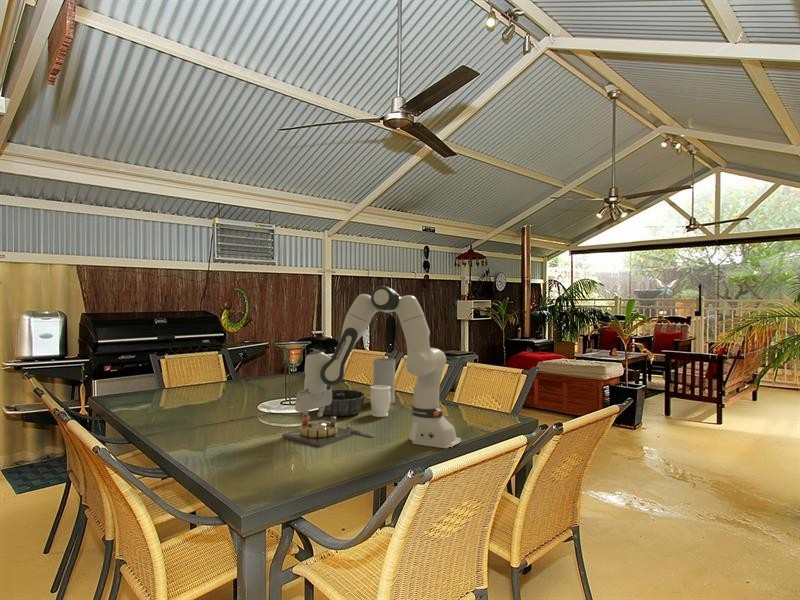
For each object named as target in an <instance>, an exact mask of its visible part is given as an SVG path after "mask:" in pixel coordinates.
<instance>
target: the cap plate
mask: <svg viewBox="0 0 800 600" xmlns="http://www.w3.org/2000/svg"><path fill="white" fill-rule="evenodd" d="M326 427H327V423H326V422H313V423H311V428H326ZM281 435H282V438H283V439H285V440H290V441H293V442H297V443H302V444H306V445H311V446H313V447H318V448H322V447H325V446H328V445H330V444H333V443H337V442H338V440H339V441H341V440H344V439H346V437H347V438H349V437H351V435H352V436H354V435H355V434H354V431H351V430H346V428H340V427H338V432H337V433H336V434H335V435H332V436H327V437H319V438H318V437H317V438H315V437H306V436H303V435H301V434H300V428H299V429H295V430H292V431H289V432H285V433H283V434H281ZM343 438H344V439H343Z"/></svg>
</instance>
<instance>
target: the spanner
mask: <svg viewBox="0 0 800 600" xmlns="http://www.w3.org/2000/svg"><path fill="white" fill-rule="evenodd" d="M346 427H347V428H345V429H346V430H351V431H354V433H356V435H359V434H360V436H364V437H368V436H369V438H375V437H376V433H373V432H369V431H364V430H359V429H355V428H352V427H350V424H347V425H346Z"/></svg>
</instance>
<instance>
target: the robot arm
mask: <svg viewBox="0 0 800 600" xmlns="http://www.w3.org/2000/svg"><path fill="white" fill-rule="evenodd" d="M376 313H385V314H393V313H396V315H397V317H398V319H399V323H400V325H401V329H402V332H403V335H404V338H405V343H406V344H405V345H406V350H407V351H406V353H407V356H406V360H405V368H406V369H407V372H408V373H409V374H410V375H412V376H415V377H417V378H416V379H417V380H416V382H415V385H414V387H413V401H412V403H413V404H412V410H411V411H412V412H411V415H412V417H411V418H412V424H411V429H410V434H409V437H408V439H409V440H410V441H411V442H412V444H413V445H418V446H419V445H420V446H425V447H434V448H440V449H450V448H449V447H451V448H454V447H453V446H455V445H457V444H459V443H460V442H461V443H462V439H461V437H457V433H456V429H455V426H454V425H453V424H451V422H450V421H449V420H447V419H446V418H445V417H444V416H443V413H444V412H445V409H444V408H443V409H441V407H440V386H441V380H442V377H443V371H444V367H445V365H446V364H447V356H446V354H445V352H444V351H443V350H441V349H438V348H437V347H436V348H435V347H431V346H430V335H431V330H430V327H429V326H428V322H427V319H426V316H425V313H424V311H423V308H422V307H421V305H420V303H419V301H418V299H417V297H416V296H414V295H412V294H408V295H403V296H401V295H400V294H399V293H398V292H397V291H396V290H395V289H393V288H392V287H389V286H387V285H380V286H378V287H376V288H375V289H373V291H372V293H371V295H370V294H367V293H361V294H359V295H358V296H357V297H356V298H355V299H354V300H353V302H352V304H351V306H350V307H349V309H348V310H347V313H346V316H345V318H344V321H343V326H342V330H341V335H340V338H339V341H338V344H337V346H336V348H335V350H334V352H333V354H332V356H330V355H328V354H326V353H325V352H324V351H322V350H317V351H312V352H309V353H308V354H307V355H306V357H305V360H304V361H305V362H304V374H305V377H304V382H303V383H304V385H303V388H304V389H301V390H299V391H298V392H297V393H296V398H295V406H294V409H295V411H296V412H298V413H302V415H308V421H310V420H311V416H310V415H309V411H312V410H315V409H318V408H320V410H319V409H318V410H319V411H318V412H317V417H319V418H320V417H323V415H324V414H323V411H324V409H325V406H327V405H330V404H331V402H332V391H331V390H333V386H337V385H339V384H340V383H341V382H342V381H343V379H344V375H345V373H346V365H345V364H346V362H347V360H348V358H349V356H350V353H351V351H352V349H353V348H354V346H355V345H356V343H357V342H358V341H359V340H360V339H361V338H362V337H363V335H364V334H365V332H366V331H367V330H368V328H369V325H370V323H371V322H372V319H373V318H374V316H375V314H376ZM461 443H460V444H461ZM460 444H459V445H460ZM457 446H458V445H457ZM455 447H456V446H455Z"/></svg>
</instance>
